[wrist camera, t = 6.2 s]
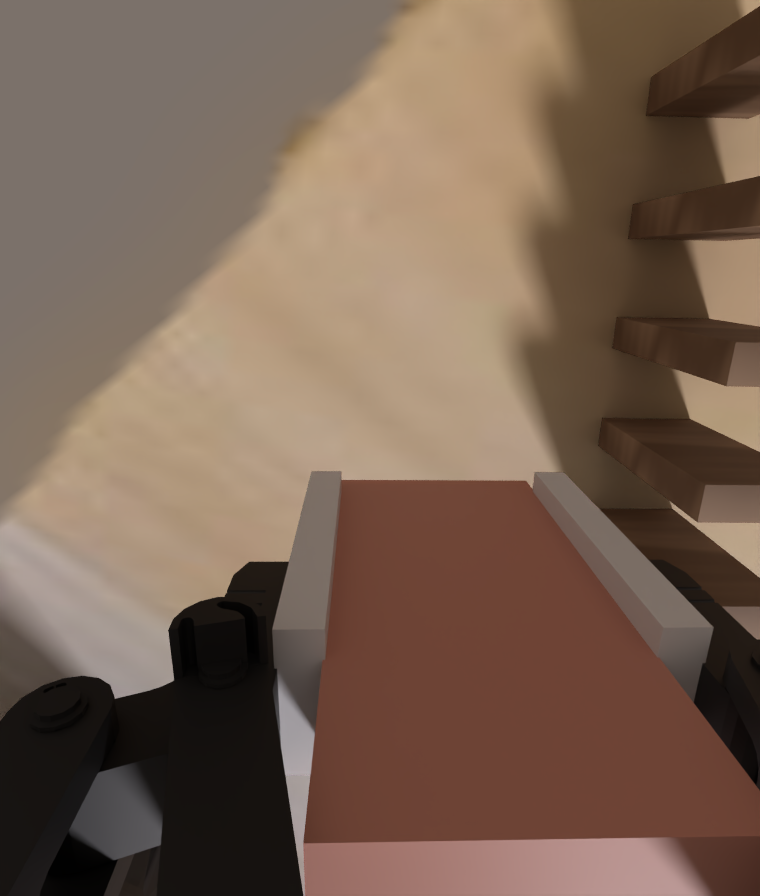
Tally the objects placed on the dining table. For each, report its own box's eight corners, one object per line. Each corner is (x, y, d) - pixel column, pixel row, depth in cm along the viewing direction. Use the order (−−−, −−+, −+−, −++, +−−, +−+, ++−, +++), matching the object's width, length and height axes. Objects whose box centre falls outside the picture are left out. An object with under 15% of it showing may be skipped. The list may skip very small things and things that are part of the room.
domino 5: (684, 446, 32) (819, 523, 23) (598, 445, 32) (697, 522, 22) (690, 419, 32) (830, 485, 22) (602, 418, 31) (705, 484, 22)
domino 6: (667, 533, 34) (786, 638, 24) (585, 533, 34) (672, 639, 24) (672, 509, 33) (796, 606, 24) (589, 508, 33) (679, 606, 24)
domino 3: (724, 240, 29) (903, 228, 19) (628, 238, 29) (760, 225, 19) (731, 206, 28) (918, 177, 19) (633, 204, 28) (771, 173, 19)
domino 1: (520, 534, 16) (758, 941, 6) (341, 533, 16) (307, 951, 6) (526, 480, 15) (793, 835, 6) (341, 480, 15) (303, 843, 6)
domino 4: (703, 349, 30) (858, 387, 21) (612, 347, 30) (726, 386, 21) (709, 318, 30) (870, 344, 20) (616, 317, 30) (735, 342, 20)
